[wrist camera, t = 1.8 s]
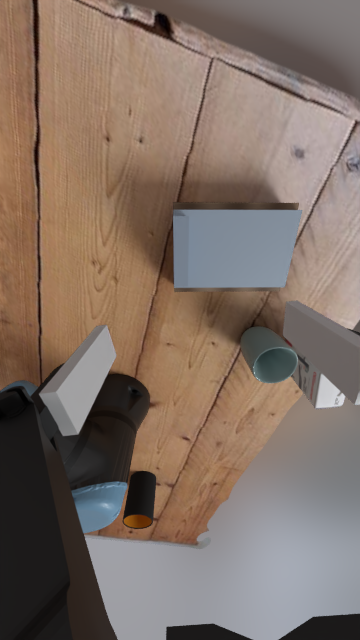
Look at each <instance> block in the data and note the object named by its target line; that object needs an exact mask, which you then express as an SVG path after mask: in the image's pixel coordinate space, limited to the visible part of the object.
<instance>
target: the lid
mask: <svg viewBox="0 0 360 640" xmlns="http://www.w3.org/2000/svg"><path fill="white" fill-rule="evenodd" d="M301 214H302V210H173V240H174V288H228V287H285V284H286V280H287V275H288V271H289V266H290V262H291V258H292V253H293V249H294V244H295V240H296V236H297V231H298V227H299V222H300V218H301Z"/></svg>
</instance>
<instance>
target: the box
mask: <svg viewBox="0 0 360 640" xmlns="http://www.w3.org/2000/svg"><path fill="white" fill-rule="evenodd" d="M298 206H299V203H175V202H173V209H174V210H298ZM280 288H281V287H228V288H174V292H213V291H280Z"/></svg>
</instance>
